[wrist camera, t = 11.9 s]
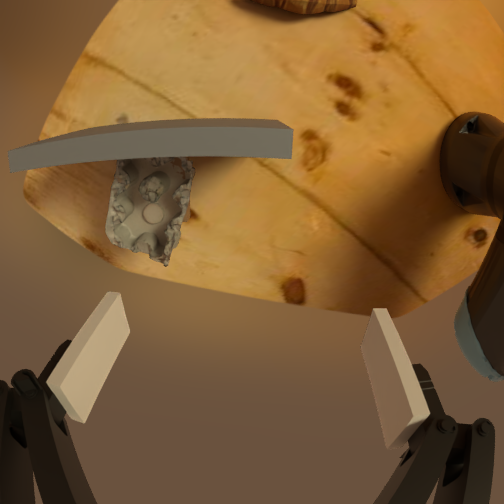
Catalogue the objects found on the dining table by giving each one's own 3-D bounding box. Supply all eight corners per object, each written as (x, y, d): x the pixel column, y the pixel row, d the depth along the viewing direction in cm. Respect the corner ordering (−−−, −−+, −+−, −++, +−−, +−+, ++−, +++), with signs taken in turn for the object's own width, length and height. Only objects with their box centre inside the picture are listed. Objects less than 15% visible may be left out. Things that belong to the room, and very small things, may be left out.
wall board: (277, 120, 32) (293, 129, 18) (273, 200, 37) (282, 265, 23) (90, 127, 32) (7, 151, 18) (97, 199, 37) (27, 252, 23)
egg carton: (177, 252, 32) (168, 273, 28) (115, 231, 30) (99, 248, 27) (205, 158, 27) (197, 167, 23) (134, 137, 26) (116, 143, 22)
